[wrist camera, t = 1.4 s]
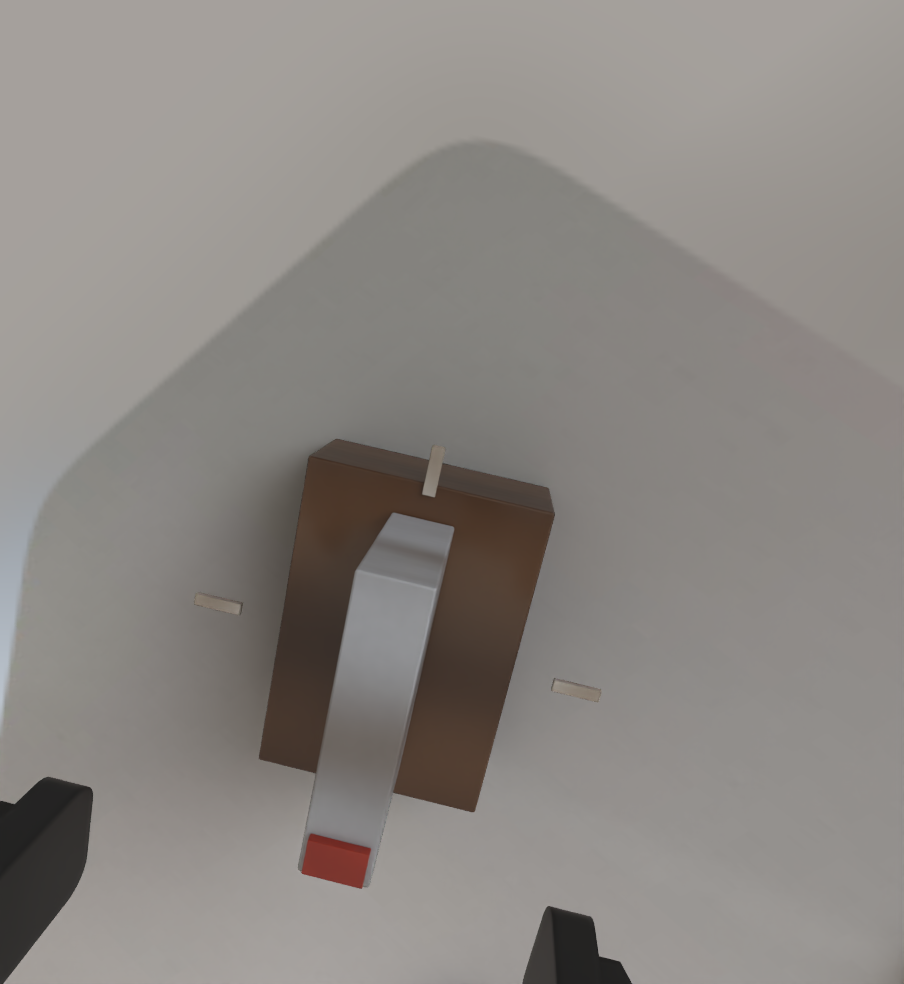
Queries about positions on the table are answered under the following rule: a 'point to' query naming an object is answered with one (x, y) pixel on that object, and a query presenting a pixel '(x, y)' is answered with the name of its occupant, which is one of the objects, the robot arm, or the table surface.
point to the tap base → (457, 622)
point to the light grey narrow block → (373, 697)
